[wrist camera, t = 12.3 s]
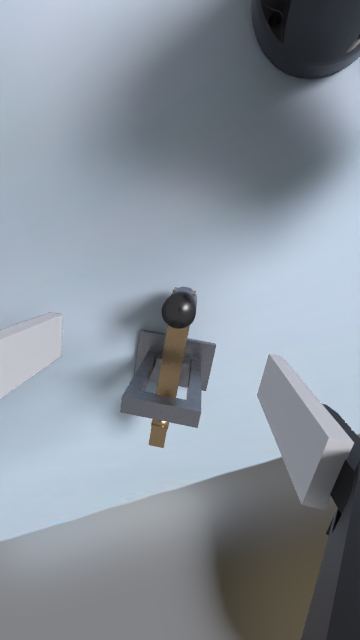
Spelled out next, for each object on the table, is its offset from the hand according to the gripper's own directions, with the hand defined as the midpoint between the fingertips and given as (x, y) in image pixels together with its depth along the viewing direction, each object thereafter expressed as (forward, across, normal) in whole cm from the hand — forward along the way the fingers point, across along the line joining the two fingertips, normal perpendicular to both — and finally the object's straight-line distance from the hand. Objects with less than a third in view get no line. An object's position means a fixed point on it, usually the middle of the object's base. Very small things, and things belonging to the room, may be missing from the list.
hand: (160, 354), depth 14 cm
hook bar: (+19, 0, -9) cm, 21 cm away
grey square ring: (+22, 0, -10) cm, 25 cm away
